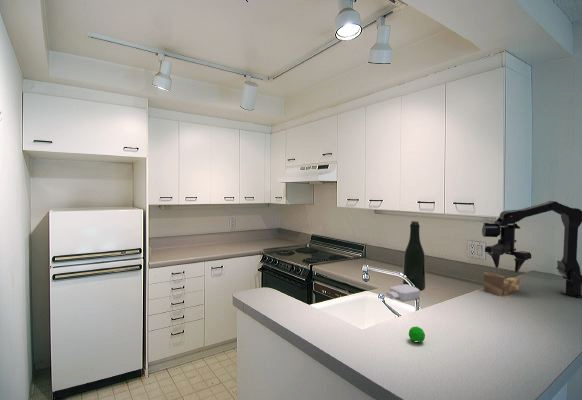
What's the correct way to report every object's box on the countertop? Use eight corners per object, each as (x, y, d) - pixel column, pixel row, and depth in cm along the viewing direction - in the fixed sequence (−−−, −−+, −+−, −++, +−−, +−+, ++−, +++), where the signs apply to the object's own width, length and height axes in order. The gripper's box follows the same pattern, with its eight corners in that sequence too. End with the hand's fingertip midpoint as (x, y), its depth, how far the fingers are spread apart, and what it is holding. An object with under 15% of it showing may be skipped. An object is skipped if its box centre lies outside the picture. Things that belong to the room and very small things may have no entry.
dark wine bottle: (415, 283, 167) (416, 219, 165) (430, 290, 157) (431, 222, 155) (398, 286, 164) (399, 220, 162) (412, 292, 154) (412, 223, 152)
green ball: (405, 339, 109) (405, 325, 109) (416, 336, 111) (416, 323, 110) (416, 346, 104) (416, 332, 104) (428, 343, 106) (428, 329, 106)
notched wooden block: (491, 288, 159) (491, 270, 158) (510, 294, 151) (510, 275, 150) (482, 290, 156) (483, 272, 156) (501, 296, 148) (501, 277, 148)
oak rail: (511, 287, 161) (512, 277, 160) (519, 289, 157) (519, 279, 157) (492, 291, 155) (492, 281, 155) (499, 293, 152) (500, 283, 152)
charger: (379, 298, 148) (404, 293, 154) (393, 305, 140) (419, 299, 146) (379, 287, 148) (404, 283, 154) (393, 294, 139) (419, 289, 145)
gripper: (477, 235, 160) (476, 267, 161) (517, 242, 143) (515, 277, 144) (492, 234, 165) (491, 264, 166) (532, 240, 148) (531, 274, 149)
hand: (506, 270), depth 156 cm, fingers open, 9 cm apart
